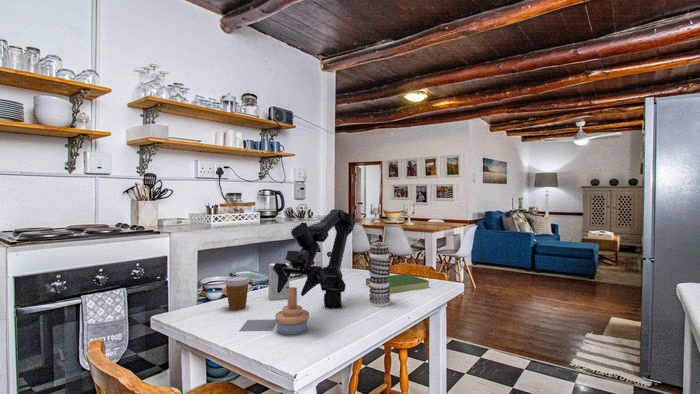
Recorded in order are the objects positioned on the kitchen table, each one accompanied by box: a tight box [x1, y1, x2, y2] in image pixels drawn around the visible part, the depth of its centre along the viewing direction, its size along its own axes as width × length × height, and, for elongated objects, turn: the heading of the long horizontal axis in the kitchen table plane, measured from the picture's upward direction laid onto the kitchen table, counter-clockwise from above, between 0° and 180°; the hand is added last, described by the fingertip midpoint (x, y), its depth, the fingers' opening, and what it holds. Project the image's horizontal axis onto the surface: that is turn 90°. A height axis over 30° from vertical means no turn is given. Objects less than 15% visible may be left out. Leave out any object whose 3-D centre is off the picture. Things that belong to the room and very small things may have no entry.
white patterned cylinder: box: [367, 241, 392, 307], centre depth 155 cm, size 9×9×25 cm
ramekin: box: [276, 319, 309, 337], centre depth 125 cm, size 10×10×4 cm
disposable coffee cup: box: [224, 275, 251, 311], centre depth 149 cm, size 10×10×12 cm
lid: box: [275, 286, 310, 324], centre depth 125 cm, size 11×11×10 cm
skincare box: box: [268, 262, 291, 301], centre depth 165 cm, size 8×6×15 cm
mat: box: [239, 318, 277, 332], centre depth 130 cm, size 11×11×1 cm
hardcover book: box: [365, 273, 430, 294], centre depth 183 cm, size 25×19×4 cm
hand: (289, 293), depth 123 cm, fingers open, 9 cm apart
